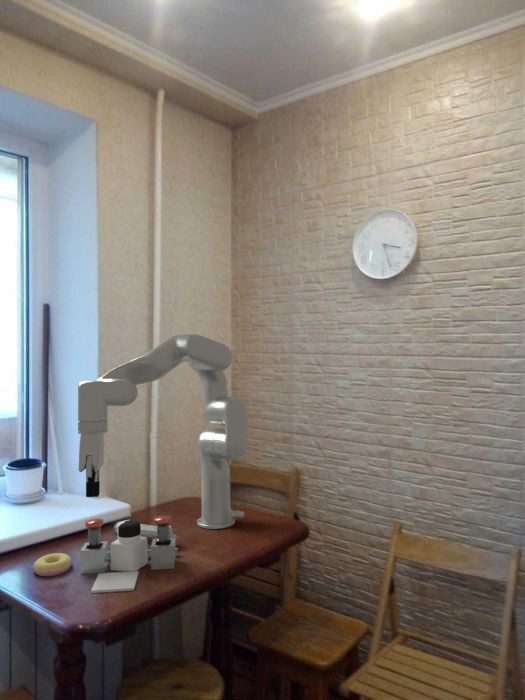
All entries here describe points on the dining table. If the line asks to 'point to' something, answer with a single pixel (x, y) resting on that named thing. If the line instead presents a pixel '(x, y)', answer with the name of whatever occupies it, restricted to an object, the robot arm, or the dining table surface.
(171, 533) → the grey piece
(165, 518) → the plunger
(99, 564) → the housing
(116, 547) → the medicine bottle
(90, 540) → the plunger
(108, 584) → the mat
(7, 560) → the dining table surface
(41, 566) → the donut
